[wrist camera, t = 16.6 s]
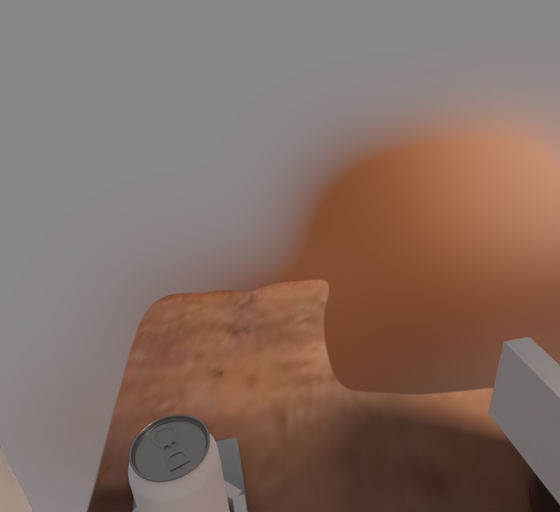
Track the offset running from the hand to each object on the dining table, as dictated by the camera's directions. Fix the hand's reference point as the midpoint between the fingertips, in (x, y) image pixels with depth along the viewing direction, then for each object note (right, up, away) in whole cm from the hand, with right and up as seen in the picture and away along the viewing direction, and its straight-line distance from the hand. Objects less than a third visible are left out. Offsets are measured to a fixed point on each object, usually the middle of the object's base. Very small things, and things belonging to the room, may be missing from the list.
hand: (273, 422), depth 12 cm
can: (-7, -20, +26) cm, 33 cm away
